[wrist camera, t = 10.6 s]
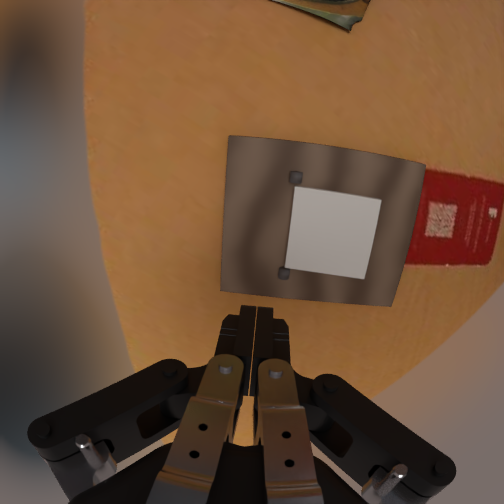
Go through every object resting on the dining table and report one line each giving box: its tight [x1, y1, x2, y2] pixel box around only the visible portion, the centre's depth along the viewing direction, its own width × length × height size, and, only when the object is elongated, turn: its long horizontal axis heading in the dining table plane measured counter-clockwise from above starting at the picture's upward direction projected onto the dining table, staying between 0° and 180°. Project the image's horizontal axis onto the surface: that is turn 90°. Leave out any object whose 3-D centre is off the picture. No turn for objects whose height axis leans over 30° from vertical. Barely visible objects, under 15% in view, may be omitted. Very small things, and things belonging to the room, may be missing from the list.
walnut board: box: [220, 135, 426, 307], centre depth 37 cm, size 24×20×3 cm
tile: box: [285, 186, 381, 279], centre depth 35 cm, size 10×10×1 cm
